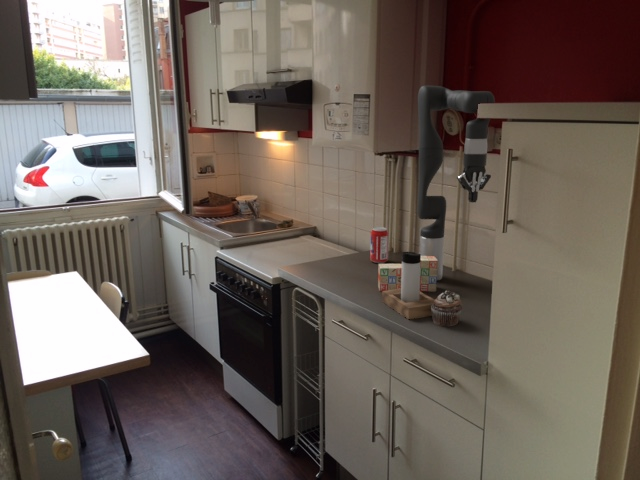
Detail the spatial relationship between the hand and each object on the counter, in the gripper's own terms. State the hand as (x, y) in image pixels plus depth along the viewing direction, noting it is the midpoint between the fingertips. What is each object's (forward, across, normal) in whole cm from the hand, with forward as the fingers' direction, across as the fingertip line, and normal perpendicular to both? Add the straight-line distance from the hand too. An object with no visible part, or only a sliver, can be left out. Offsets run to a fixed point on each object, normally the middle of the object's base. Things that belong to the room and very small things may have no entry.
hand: (472, 202), depth 191 cm
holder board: (+35, +25, +2) cm, 43 cm away
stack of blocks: (+35, +16, -16) cm, 42 cm away
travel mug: (+35, +25, +2) cm, 43 cm away
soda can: (+35, +9, -53) cm, 64 cm away
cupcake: (+35, +21, +17) cm, 44 cm away
